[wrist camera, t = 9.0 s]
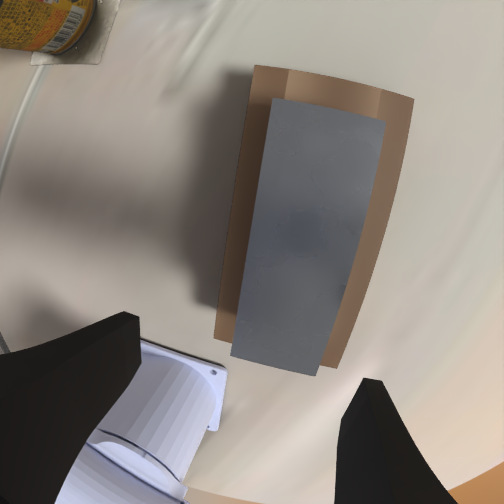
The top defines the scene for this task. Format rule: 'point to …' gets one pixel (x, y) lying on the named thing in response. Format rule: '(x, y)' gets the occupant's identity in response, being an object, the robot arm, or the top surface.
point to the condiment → (57, 29)
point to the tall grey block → (304, 232)
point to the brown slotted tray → (248, 172)
